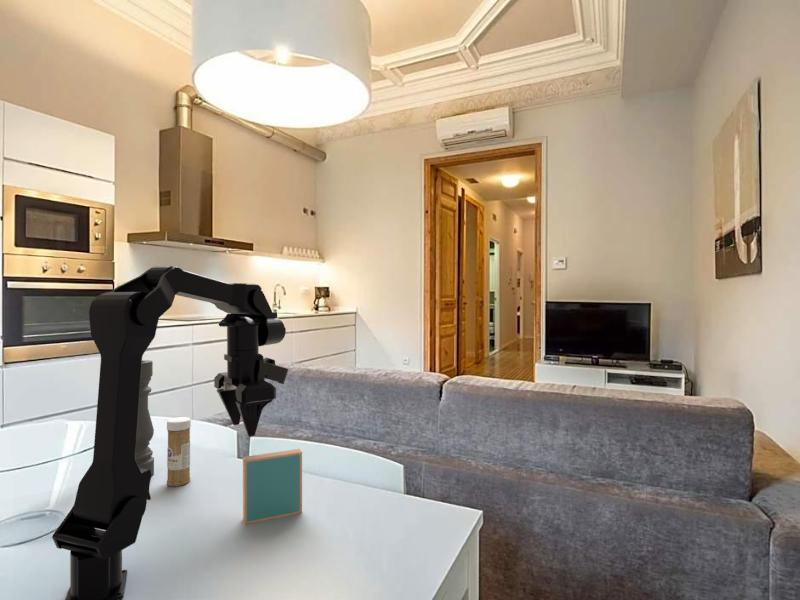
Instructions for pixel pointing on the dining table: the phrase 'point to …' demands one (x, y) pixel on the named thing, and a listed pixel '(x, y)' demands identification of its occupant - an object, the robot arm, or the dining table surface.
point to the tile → (272, 485)
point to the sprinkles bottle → (178, 451)
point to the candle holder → (144, 421)
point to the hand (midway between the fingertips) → (243, 430)
